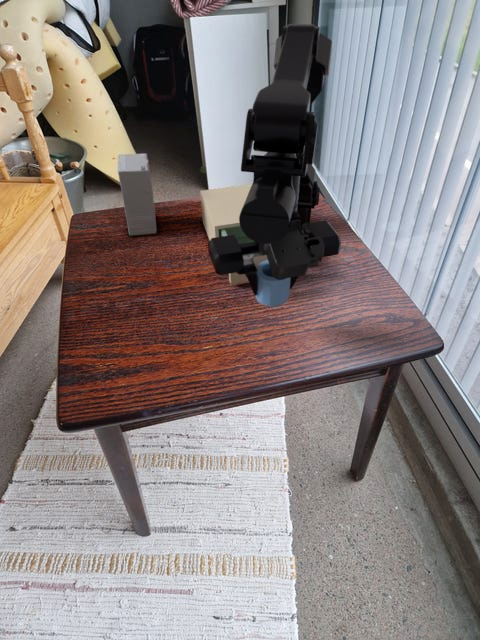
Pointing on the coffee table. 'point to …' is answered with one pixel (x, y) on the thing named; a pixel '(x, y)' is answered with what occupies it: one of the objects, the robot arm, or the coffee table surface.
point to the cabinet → (222, 207)
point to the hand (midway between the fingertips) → (272, 290)
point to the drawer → (240, 239)
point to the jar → (271, 287)
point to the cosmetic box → (137, 193)
